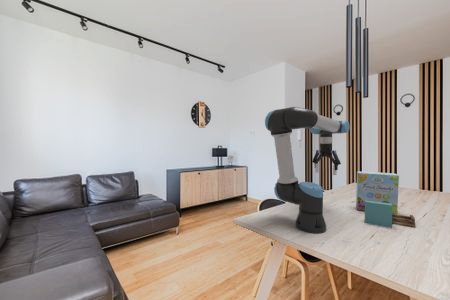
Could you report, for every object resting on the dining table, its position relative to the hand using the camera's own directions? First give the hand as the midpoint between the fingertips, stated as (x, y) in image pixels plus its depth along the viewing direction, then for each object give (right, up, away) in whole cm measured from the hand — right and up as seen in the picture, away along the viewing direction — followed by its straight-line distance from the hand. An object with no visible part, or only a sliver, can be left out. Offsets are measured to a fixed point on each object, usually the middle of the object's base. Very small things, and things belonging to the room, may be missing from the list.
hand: (325, 173), depth 143 cm
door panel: (+15, -25, -29) cm, 41 cm away
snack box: (+29, -24, -8) cm, 39 cm away
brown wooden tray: (+27, -24, -24) cm, 44 cm away
